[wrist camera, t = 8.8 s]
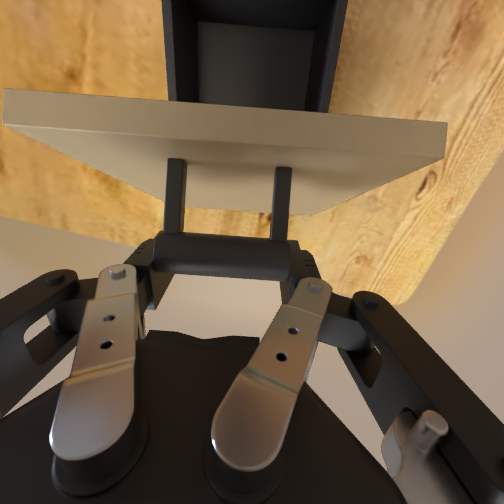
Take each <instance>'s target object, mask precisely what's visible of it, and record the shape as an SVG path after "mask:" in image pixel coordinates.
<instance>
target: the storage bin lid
mask: <svg viewBox="0 0 504 504" xmlns="http://www.w3.org/2000/svg"><path fill="white" fill-rule="evenodd" d="M2 124H3V125H4V126H6V127H8V128H11V129H13V130H15V131H17V132H19V133H21V134H23V135H25V136H27V137H29V138H32V139H34V140H36V141H38V142H40V143H42V144H44V145H46V146H48V147H50V148H53V149H55V150H57V151H59V152H61V153H63V154H65V155H67V156H69V157H71V158H74V159H76V160H78V161H80V162H82V163H84V164H86V165H88V166H90V167H92V168H95V169H97V170H99V171H101V172H103V173H105V174H107V175H109V176H111V177H113V178H116V179H118V180H120V181H122V182H124V183H126V184H128V185H130V186H132V187H134V188H137V189H139V190H141V191H143V192H145V193H147V194H149V195H151V196H153V197H155V198H158V199H160V200H162V201H164V202H165V208H164V225H163V231H160V232H159V233H158V235H157V237H156V240H155V243H154V249H153V262H154V267H155V269H156V271H157V272H159V273H173V274H187V275H201V276H215V277H229V278H243V279H258V280H271V281H287V280H288V278H289V273H290V267H291V243H290V241H289V240H287V233H288V220H289V215H301V216H313V215H315V214H317V213H320V212H322V211H324V210H326V209H329V208H331V207H333V206H336V205H338V204H340V203H343V202H345V201H347V200H349V199H352V198H354V197H356V196H359V195H361V194H363V193H366V192H368V191H370V190H372V189H375V188H377V187H379V186H382V185H384V184H386V183H389V182H391V181H393V180H395V179H398V178H400V177H402V176H405V175H407V174H409V173H412V172H414V171H416V170H418V169H421V168H423V167H425V166H428V165H430V164H432V163H435V162H437V161H439V160H441V159H444V156H445V146H446V136H447V125H448V123H447V122H434V121H421V120H408V119H396V118H383V117H370V116H357V115H344V114H331V113H318V112H306V111H293V110H280V109H267V108H254V107H241V106H229V105H216V104H203V103H190V102H177V101H164V100H152V99H139V98H126V97H113V96H100V95H87V94H75V93H62V92H49V91H36V90H23V89H10V88H4V89H3V113H2ZM185 207H193V208H207V209H220V210H234V211H247V212H261V213H271V224H270V238H256V237H242V236H229V235H215V234H201V233H188V232H183V229H184V213H185Z"/></svg>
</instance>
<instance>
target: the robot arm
mask: <svg viewBox="0 0 504 504" xmlns="http://www.w3.org/2000/svg"><path fill="white" fill-rule="evenodd" d="M161 231H162V230H161ZM157 235H158V234H157ZM157 235H156V236H155V238H154V239H148V240H147V241H145V242H143V243H141V244H140V246H139V247H138V248H137V249H136V250H135V251H134V253H133V254H131V256H130V257H129V258H128V259H127V260H126V261H125V262H124V263H123V264H117V265H112V266H110V267H107V268H106V269H104V270H102V271H101V272H100V274H99V277H98V278H92V279H83V280H79V279H78V276H77V273H76V272H75V271H73V270H68V269H63V270H55V271H51V272H48V273H45V274H43V275H41V276H40V277H38V278H36V279H34V280H33V281H31V282H29V283H28V284H26V285H24V286H22V287H21V288H19V289H17V290H16V291H14V292H12V293H10V294H9V295H7V296H5V297H4V298H2V299H0V504H504V424H503V423H502V422H501V421H500V420H499V419H498V418H497V417H496V416H495V415H494V414H493V413H492V412H491V411H490V409H489V408H488V407H487V406H486V405H485V404H484V403H483V402H482V401H481V400H480V399H479V398H478V397H477V396H476V394H474V392H473V391H472V390H471V389H470V388H469V387H468V386H467V385H466V384H465V383H464V382H463V381H462V380H461V379H460V378H459V376H458V375H457V374H456V373H455V372H454V371H453V370H452V369H451V368H450V367H449V366H448V365H447V364H446V363H445V362H444V361H443V360H442V358H441V357H440V356H439V355H438V354H437V353H436V352H435V351H434V350H433V349H432V348H431V347H430V346H429V345H428V344H427V343H426V342H425V340H424V339H423V338H422V337H421V336H420V335H419V334H418V333H417V332H416V331H415V330H414V329H413V328H412V327H411V326H410V325H409V324H408V322H406V320H405V319H404V318H403V317H402V316H401V315H400V314H399V313H398V312H397V311H396V310H395V309H394V308H393V306H392V305H391V304H390V303H389V302H388V301H387V300H386V299H385V298H383V297H382V296H380V295H378V294H376V293H373V292H369V291H358V292H356V293H355V294H354V295H353V298H352V299H350V298H347V297H344V296H340V295H337V294H335V293H333V292H332V287H331V286H330V284H328V283H327V282H326V281H324V280H322V279H321V276H320V274H319V271H318V268H317V267H316V263H315V260H314V258H313V255H312V254H311V253H309V252H308V251H307V250H300V247H299V243H298V241H296V240H289V241H290V243H291V267H290V273H289V278H288V280H287V281H280V290H281V297H282V305H281V307H280V309H279V310H278V312H277V314H276V316H275V318H274V319H273V321H272V323H271V324H270V326H269V328H268V330H267V331H266V333H265V335H264V337H263V338H262V340H261V342H260V338H259V337H246V336H226V337H218V338H212V339H200V338H196V337H193V336H190V335H186V334H182V333H179V332H173V331H172V332H171V331H158V330H149V332H148V334H147V336H146V335H145V318H144V312H145V311H146V309H148V310H156V308H157V306H158V304H159V302H160V301H161V299H162V297H163V295H164V293H165V291H166V289H167V287H168V285H169V284H170V282H171V280H172V277H173V276H174V274H173V273H159V272H157V271H156V269H155V267H154V262H153V249H154V243H155V240H156V237H157ZM44 315H47V317H48V319H49V322H50V324H51V325H49V326H48V327H47V328H46V329H44V330H43V331H42V332H41V333H39V334H38V335H37V336H35V337H34V338H33V339H32V340H30V341H29V342H28V343H27V344H25V342H24V339H23V337H24V333H25V332H26V330H27V329H28V328H29V327H30V326H31V325H32V324H33V323H35V322H36V321H37V320H39V319H40V318H41V317H43V316H44ZM319 341H320V342H323V343H326V344H329V345H332V346H335V347H337V349H338V351H339V353H340V355H341V357H342V359H343V361H344V363H345V364H346V366H347V368H348V370H349V372H350V373H351V375H352V377H353V379H354V381H355V383H356V384H357V386H358V388H359V390H360V392H361V394H362V396H363V397H364V399H365V401H366V403H367V405H368V407H369V408H370V410H371V412H372V414H373V416H374V418H375V420H376V421H377V423H378V425H379V427H380V429H381V431H382V432H383V434H384V438H383V440H382V443H381V452H382V456H383V459H384V461H385V464H386V466H387V470H388V472H387V471H386V470H385V469H384V468H383V467H382V466H381V464H380V463H379V462H378V461H377V460H376V459H375V458H374V457H373V456H372V455H371V453H370V452H369V451H368V450H367V449H366V448H365V447H364V446H363V445H362V444H361V443H360V441H359V440H358V439H357V438H356V437H355V436H354V435H353V434H352V433H351V431H350V430H349V429H348V428H347V427H346V426H345V425H344V424H343V423H342V422H341V420H340V419H339V418H338V417H337V416H336V415H335V414H334V413H333V412H332V411H331V409H330V408H329V407H328V406H327V405H326V404H325V403H324V402H323V401H322V399H321V398H319V396H318V395H317V394H316V393H315V392H314V391H313V390H312V389H311V387H310V386H309V385H308V384H307V383H306V382H307V378H308V375H309V371H310V368H311V365H312V362H313V358H314V355H315V352H316V349H317V345H318V342H319ZM259 342H260V343H259ZM76 346H77V347H76ZM375 346H376V348H377V349H378V350H379V352H380V354H381V355H380V354H379V352H378V351H377V349H376V348H375ZM75 347H76V352H75V356H74V360H73V364H72V369H71V373H70V376H69V377H68V378H66V379H65V380H63V381H61V382H60V383H58V384H57V385H55V386H53V387H52V388H50V389H49V390H47V391H45V392H44V393H42V394H41V395H39V396H38V397H36V398H34V399H33V400H31V401H29V402H28V403H26V404H24V405H23V406H21V407H20V408H18V409H17V410H15V411H13V412H12V413H10V414H8V415H7V416H5V415H6V414H7V413H8V412H9V411H10V410H11V409H12V408H13V407H14V406H15V405H16V404H17V403H18V402H19V401H20V400H21V399H22V398H23V397H24V396H25V395H26V394H27V393H28V392H29V391H30V390H31V389H32V388H33V387H35V385H37V384H38V382H40V381H41V380H42V379H43V378H44V377H45V376H46V375H47V374H48V373H49V372H50V371H51V370H52V369H53V368H54V367H55V366H56V365H57V364H58V363H59V362H60V361H61V360H62V359H63V358H64V357H65V356H66V355H67V354H69V353H70V352H71V351H72V350H73V349H74V348H75ZM4 416H5V417H4Z"/></svg>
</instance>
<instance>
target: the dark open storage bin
mask: <svg viewBox="0 0 504 504" xmlns="http://www.w3.org/2000/svg"><path fill="white" fill-rule="evenodd" d="M347 3H348V0H162V14H163V28H164V43H165V57H166V71H167V86H168V100H169V101H177V102H190V103H203V104H216V105H229V106H241V107H254V108H267V109H280V110H293V111H306V112H318V113H328V109H329V103H330V98H331V92H332V86H333V81H334V75H335V70H336V64H337V59H338V53H339V48H340V42H341V36H342V31H343V25H344V20H345V14H346V9H347Z"/></svg>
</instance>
